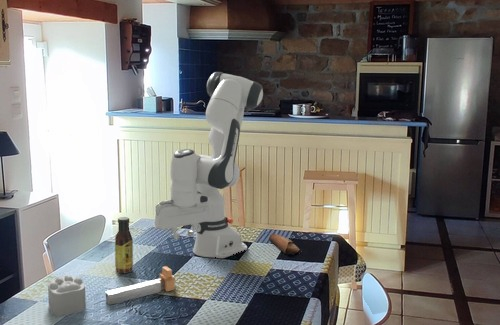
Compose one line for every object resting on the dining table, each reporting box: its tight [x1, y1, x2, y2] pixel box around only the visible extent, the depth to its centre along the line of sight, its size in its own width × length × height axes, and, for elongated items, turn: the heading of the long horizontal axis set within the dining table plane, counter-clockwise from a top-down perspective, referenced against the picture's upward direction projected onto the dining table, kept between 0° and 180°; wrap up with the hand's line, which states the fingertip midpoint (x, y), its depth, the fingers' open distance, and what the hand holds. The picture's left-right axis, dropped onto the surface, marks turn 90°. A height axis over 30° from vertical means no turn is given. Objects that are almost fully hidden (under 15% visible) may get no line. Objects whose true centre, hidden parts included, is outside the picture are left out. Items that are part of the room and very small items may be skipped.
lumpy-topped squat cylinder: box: [47, 274, 87, 317], centre depth 169 cm, size 10×13×9 cm
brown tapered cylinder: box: [268, 233, 301, 255], centre depth 226 cm, size 18×7×7 cm
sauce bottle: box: [114, 216, 134, 274], centre depth 195 cm, size 7×6×20 cm
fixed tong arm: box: [105, 274, 176, 305], centre depth 178 cm, size 24×1×4 cm, turn 126°
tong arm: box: [107, 281, 162, 306], centre depth 176 cm, size 18×1×4 cm, turn 126°
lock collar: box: [158, 265, 176, 292], centre depth 183 cm, size 3×5×7 cm, turn 36°
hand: (183, 237), depth 184 cm, fingers open, 4 cm apart
